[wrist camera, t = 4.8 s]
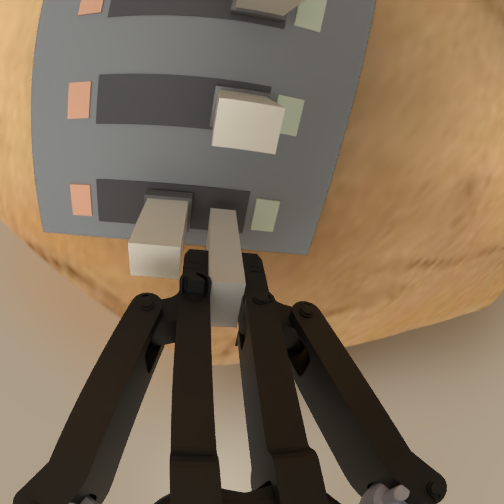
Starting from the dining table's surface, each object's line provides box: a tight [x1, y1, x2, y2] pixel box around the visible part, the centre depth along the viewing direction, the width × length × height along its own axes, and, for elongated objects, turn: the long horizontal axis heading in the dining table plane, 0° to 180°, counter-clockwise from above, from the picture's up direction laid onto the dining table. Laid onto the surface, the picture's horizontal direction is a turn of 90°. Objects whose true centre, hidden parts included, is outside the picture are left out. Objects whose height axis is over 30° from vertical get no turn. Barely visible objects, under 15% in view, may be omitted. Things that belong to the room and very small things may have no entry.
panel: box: [31, 0, 376, 255], centre depth 16 cm, size 20×21×1 cm
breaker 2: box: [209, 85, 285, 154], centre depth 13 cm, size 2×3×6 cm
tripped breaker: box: [128, 189, 193, 279], centre depth 16 cm, size 2×3×6 cm
